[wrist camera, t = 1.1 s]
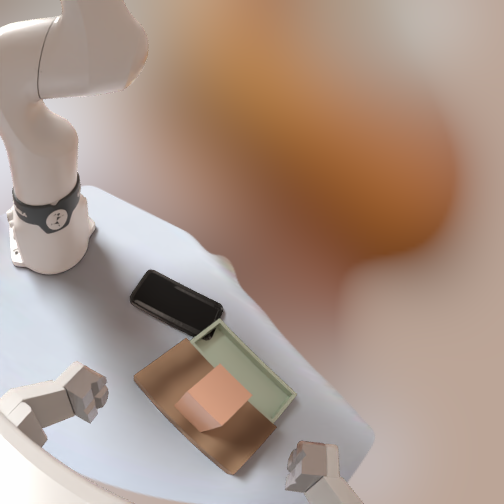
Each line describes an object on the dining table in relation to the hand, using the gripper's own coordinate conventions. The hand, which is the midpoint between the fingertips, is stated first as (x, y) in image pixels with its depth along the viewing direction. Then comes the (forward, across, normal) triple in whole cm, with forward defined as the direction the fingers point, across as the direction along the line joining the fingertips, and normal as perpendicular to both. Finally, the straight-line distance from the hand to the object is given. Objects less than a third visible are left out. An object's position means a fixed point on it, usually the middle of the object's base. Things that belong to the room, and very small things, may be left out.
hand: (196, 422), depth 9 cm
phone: (+32, +12, +17) cm, 38 cm away
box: (+27, -1, +22) cm, 35 cm away
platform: (+19, +2, +24) cm, 31 cm away
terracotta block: (+17, +2, +22) cm, 28 cm away
